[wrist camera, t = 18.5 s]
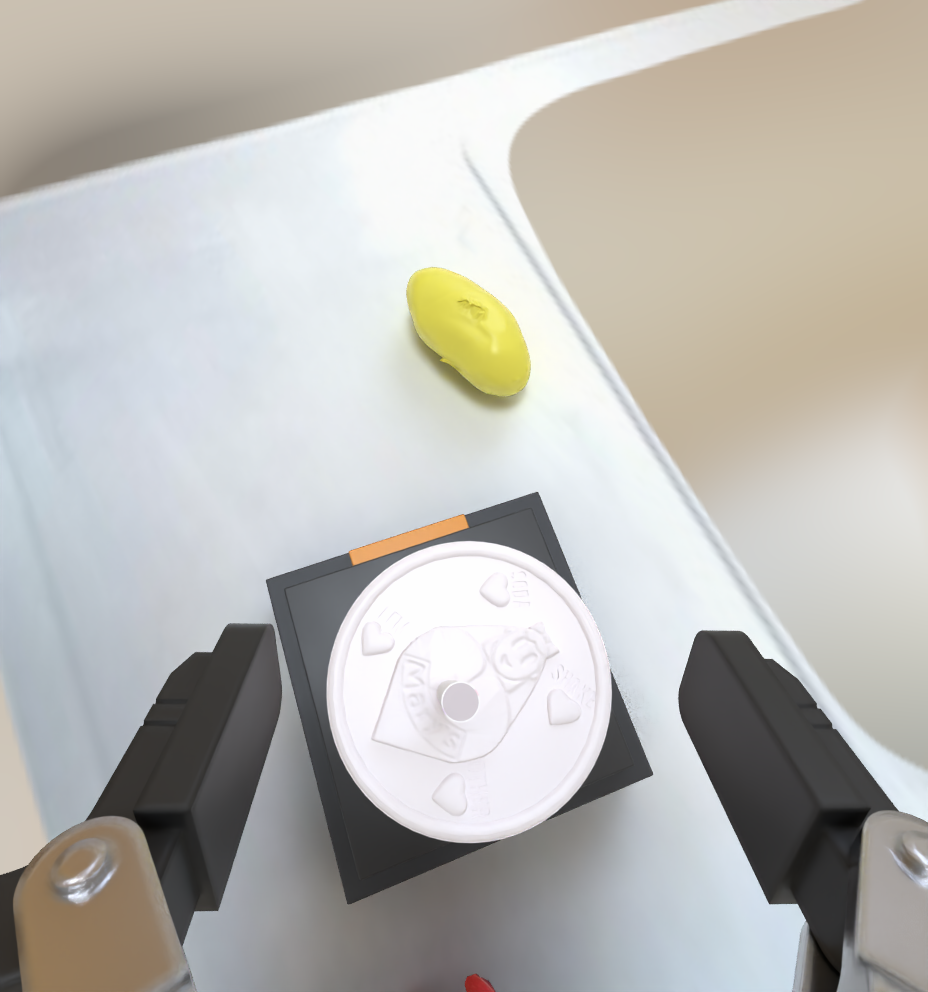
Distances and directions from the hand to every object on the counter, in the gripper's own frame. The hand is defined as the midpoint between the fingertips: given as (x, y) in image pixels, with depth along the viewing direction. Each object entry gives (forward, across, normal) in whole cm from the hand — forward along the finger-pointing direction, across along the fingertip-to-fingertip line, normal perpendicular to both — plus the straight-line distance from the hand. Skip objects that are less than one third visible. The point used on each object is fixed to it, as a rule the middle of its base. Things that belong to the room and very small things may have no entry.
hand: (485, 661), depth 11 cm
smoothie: (+8, 0, +8) cm, 12 cm away
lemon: (+22, 0, -1) cm, 22 cm away
